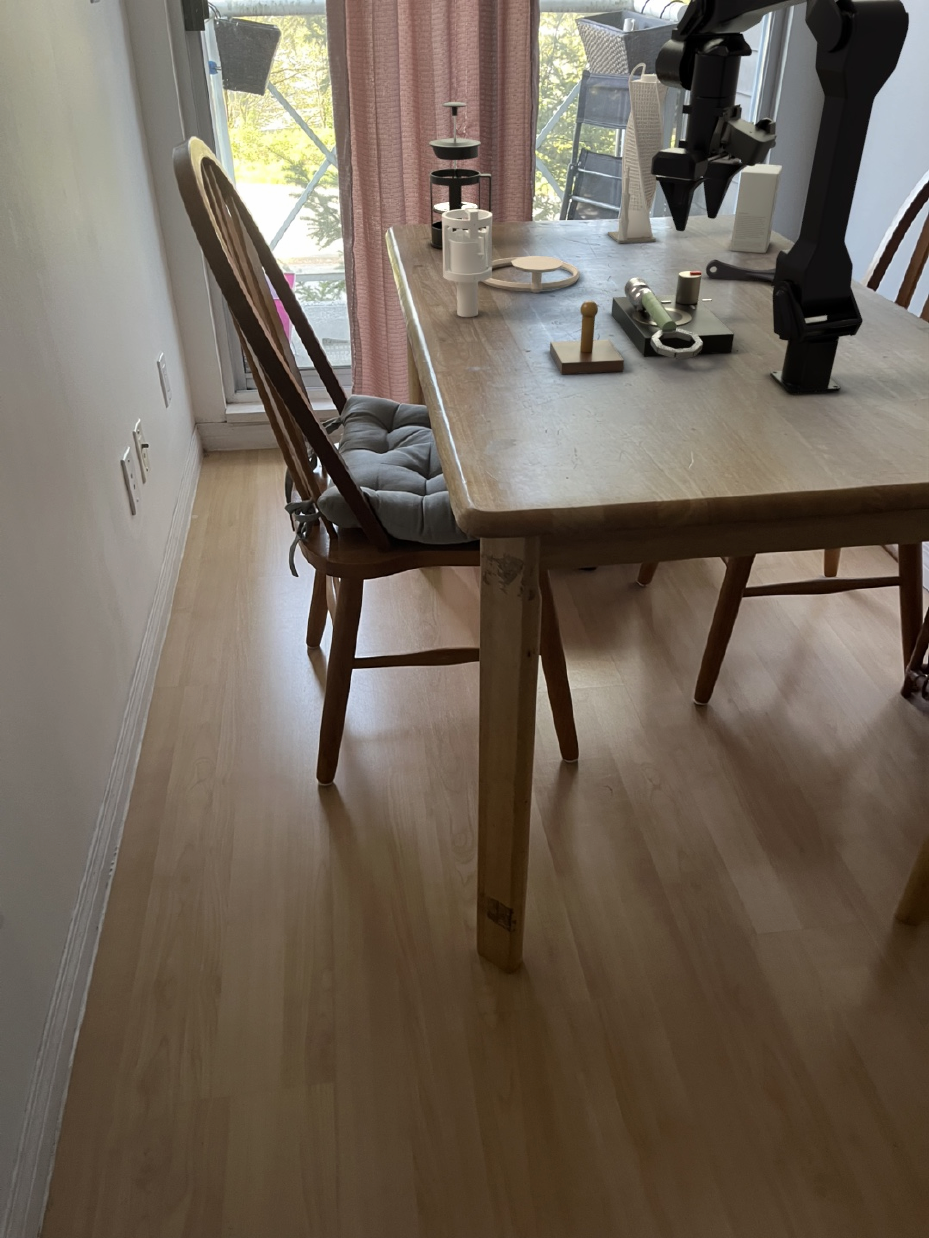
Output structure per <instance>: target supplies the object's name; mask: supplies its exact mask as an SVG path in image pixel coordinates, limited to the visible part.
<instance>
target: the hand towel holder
mask: <svg viewBox="0 0 929 1238" xmlns="http://www.w3.org/2000/svg"><path fill="white" fill-rule="evenodd" d="M505 266H513V267H514V268H515V270H517V271H521V272H524V273H531V282H514V281H513V282H512V281H505V280H501V279H500V280H499V279H496V278H492V277H491V278H489V279H487V280H484V281H481V283H483V284H485V285H488V286H491V287H494V288H498V289H501V290H502V289H503V290H509V291H520V292H531V293H535V294H538V293H540V294H541V292H542V291H551V290H557V289H563V288H566V287H570V286H571V285H573V284H575V283H576V282H577V280H579V278H580V276H581V275H580V271H579V269H578V268H577V267H576V266H575V265H573V264H571V263H569V262H566V261H562V260H561V259H559V258H556V257H551V256H543V255H542V256H541V255H528V256H527V255H526V256H519V257H517V256H516V257H507V258H500V259H495V260H492V269H495V268H498V267H499V268H500V267H505ZM559 269H562V270H565V271H567V272H569V273H571V274H572V276H570V277H567V278H564V279H560V280H556V281H549V282H542V275H543V274H544V273H551V272H552V273H553V272H556V271H557V270H559Z"/></svg>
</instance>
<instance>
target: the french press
mask: <svg viewBox="0 0 929 1238" xmlns="http://www.w3.org/2000/svg"><path fill="white" fill-rule="evenodd" d="M467 106H468V104H467V103H465V102H460V101H450V102H444V103H443V104H442V105H441V107H444V108H451V116H452V117H453V137H449V138H442V139H435V140H431V141H429V143H428V144H429V146H430V147H432V151H433V153H434V154H435V157H436V158H437V159H439V160H442V161H443V160H444V161H453V168H442V169H436V170H433V171H430V173H429V186H430V188H429V190H430V222H431V223H430V227H431V228H430V230H431V231H430V232H431V240H430V243H429V244H430V246H431V247H432V248H435V249H438V250H442V251H443V238H442V220H438V221H435V222H434V213H435V214H439V215H442V214H443V213H444V212H447V211H451V210H457V209H465V208H466V207H474V208H475V209H478V210H481V194H482V193H481V191H482V189H481V187H482V186H481V181H482V180H481V178H483V179H484V178H487V179H488V178H489V179H488V212H491V213H492V174H490V173H481V171H479V170H475V169H472V168H471V169H470V168H457V161H464V160H473V159H476V158H478V157H479V147H480V146H481V144H482V143H481V141H479V140H477V139H470V138H465V137H464V138H463V137H457V116H458V108H463V107H467ZM477 184H478V204H475V203H473V202H467V201H463V199H462V197H463V195H462V194H463V193H462V191H463V187H467V186H474V185H477ZM433 185H437V186H442V187H448V202H439V203H436V204H434V205H433V203H434V202H433V200H434V199H433ZM457 219H462V220H463V218H457ZM448 227H449V226H448ZM482 228H484V229H486V227H482ZM482 228H478V230H480V231H481V229H482ZM456 229H458V228H453V232H455V231H456ZM463 230H468V229H463Z"/></svg>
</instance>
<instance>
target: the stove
mask: <svg viewBox="0 0 929 1238" xmlns="http://www.w3.org/2000/svg"><path fill="white" fill-rule="evenodd" d="M655 296H656V297H657V299H658V300H659V301H660V303H661V304H662V305H663V307H664V308H673V309H678V310H681V311H684V312H686V313H688V314H690V315H691V317H692V319H691V321H690V322H689V323H687V324H684V325H680V326H677V329H683V330H686V331H689V332H693V333H695V334H697V335H698V336H699V338H700V339H701V340H702V342H703V346H702V350H701V351H700V352H699V353H698V354H697V355H703V354H706V355H707V354H727V353H728V354H729V353H732V351H733V345H734V344H733V343H734V337H735V333H734V332H732V330H731V329H730V328H728V326H727V325H726V324H725V323H724V322H722V321H721V320H720V319H719V318H718V317H717V316H716V315H715V314H714V313H713V312H712V311H711V310H710V309H709V308H708V307H707V306H706V305H705V304H703V303H702V302H712V301H713V299H712V298H708V299H704V298H703V299H701V300H699V299H698V302H697V303H696V304H689V305H688V304H680V303H677V302H676V301H675V299H676V294H663V295H662V294H661V295H660V294H659V295H655ZM701 301H702V302H701ZM611 303H612V304H611V316H612V317H613V318H614V320H615V321H616V323H618V325H619V326H620V328H621V329H622V330H623V331H624V333H625V334H626V335H627V337H628V338H629V340H630V341H631V342H632V343H633V344H634V346H635V347H636V349H637V350H638V352H640V354H641V355H642V356H643V357H659V356H660V357H662V356H664V355H661V354H658V352H655V350H654V349H653V347H652V346H651V337H652V336H653V335H654V334H655V333H656V332H658V331H659V330H660V328H659V327H658V326H652V325H647V324H643V323H640V322H638V321H636V320H635V319H634V318H633V313H634V312H635V311H637V310H636V309H635V308H634V307H633V305H632V304H631V303H630V301H629V300H628V298H627V297H626V296H617V297H616V296H614V297H612V302H611ZM661 343H662V344H663V345H664V346H668V347H671V348H674V349H684V348H691V347H692V346H693V345H692V344H691V342H690V341H686V340H683V339H680V338H666V339H663V340H662V341H661Z"/></svg>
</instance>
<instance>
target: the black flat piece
mask: <svg viewBox="0 0 929 1238" xmlns="http://www.w3.org/2000/svg"><path fill="white" fill-rule="evenodd" d="M712 268H716V270H715V271H711V269H712ZM775 269H776V267H774V268H769V269H753V268H748V267H747V268H746V267H741V266H737V265H733V264H729V263H726V262H723V261H720V260H719V259H712V260H711V261H709V262H708V263H707V265H706V267H705V273H706V276H707V277H708V278H711V279H717V280H739V281H762V282H772V281H773V279H774V275H775Z"/></svg>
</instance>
